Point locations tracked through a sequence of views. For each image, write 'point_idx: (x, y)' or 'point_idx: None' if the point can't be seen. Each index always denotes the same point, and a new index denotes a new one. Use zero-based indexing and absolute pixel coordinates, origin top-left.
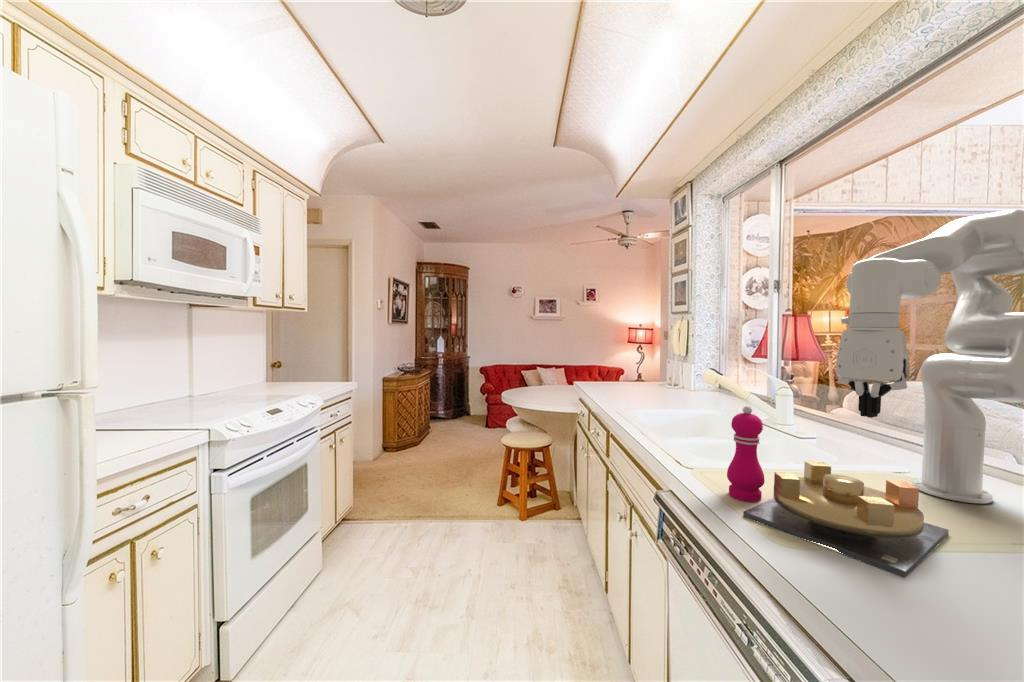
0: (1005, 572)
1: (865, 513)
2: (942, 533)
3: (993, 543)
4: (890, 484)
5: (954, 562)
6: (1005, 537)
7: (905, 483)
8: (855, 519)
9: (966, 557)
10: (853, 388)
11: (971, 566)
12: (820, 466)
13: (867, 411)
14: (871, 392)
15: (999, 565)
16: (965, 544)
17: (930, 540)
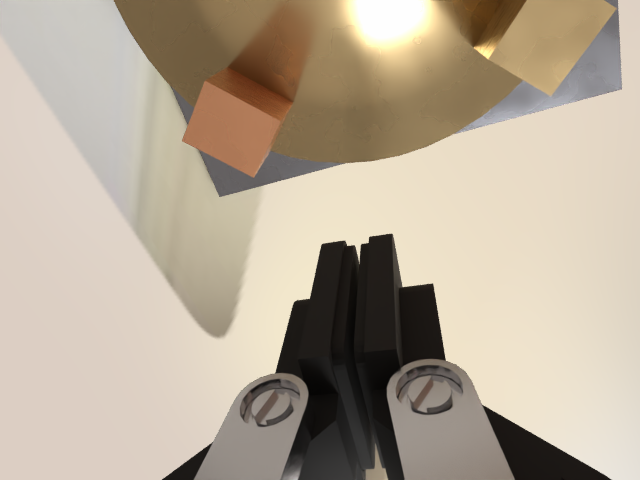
0: (57, 96)
1: None
2: (205, 155)
3: (175, 241)
4: (258, 106)
5: (102, 25)
6: (195, 299)
7: (233, 151)
8: None
9: (123, 92)
10: (534, 444)
11: (83, 46)
12: (519, 11)
13: (335, 259)
14: (295, 416)
15: (86, 124)
16: (179, 173)
17: None
